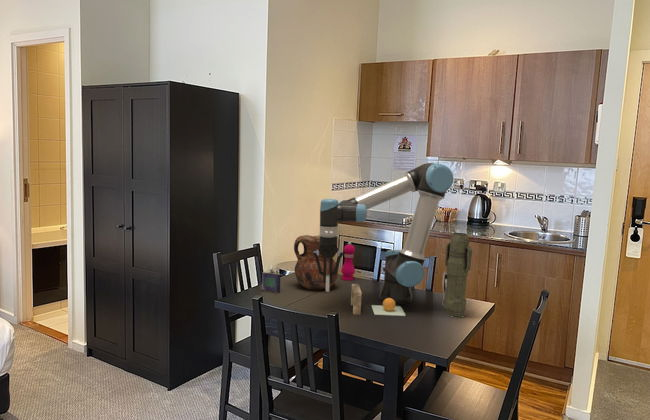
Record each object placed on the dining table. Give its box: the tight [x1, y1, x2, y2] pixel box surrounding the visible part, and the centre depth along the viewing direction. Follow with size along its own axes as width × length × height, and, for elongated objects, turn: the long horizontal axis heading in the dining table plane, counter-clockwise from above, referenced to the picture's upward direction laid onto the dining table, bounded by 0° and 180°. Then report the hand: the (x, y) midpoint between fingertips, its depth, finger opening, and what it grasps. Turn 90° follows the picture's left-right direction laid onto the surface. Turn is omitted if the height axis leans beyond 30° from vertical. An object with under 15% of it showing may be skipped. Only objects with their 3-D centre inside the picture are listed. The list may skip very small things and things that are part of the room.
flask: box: [261, 268, 281, 294], centre depth 244 cm, size 9×3×11 cm, turn 71°
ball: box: [382, 298, 397, 311], centre depth 223 cm, size 6×6×6 cm
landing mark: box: [371, 304, 406, 317], centre depth 223 cm, size 13×13×1 cm
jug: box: [293, 234, 339, 291], centre depth 256 cm, size 22×21×25 cm
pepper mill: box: [340, 241, 356, 282], centre depth 275 cm, size 7×7×20 cm
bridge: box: [350, 283, 363, 316], centre depth 223 cm, size 3×14×9 cm, turn 1°
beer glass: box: [441, 271, 447, 306], centre depth 234 cm, size 7×7×15 cm
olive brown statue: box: [443, 232, 473, 318], centre depth 220 cm, size 9×12×35 cm
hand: (327, 290), depth 222 cm, fingers closed
